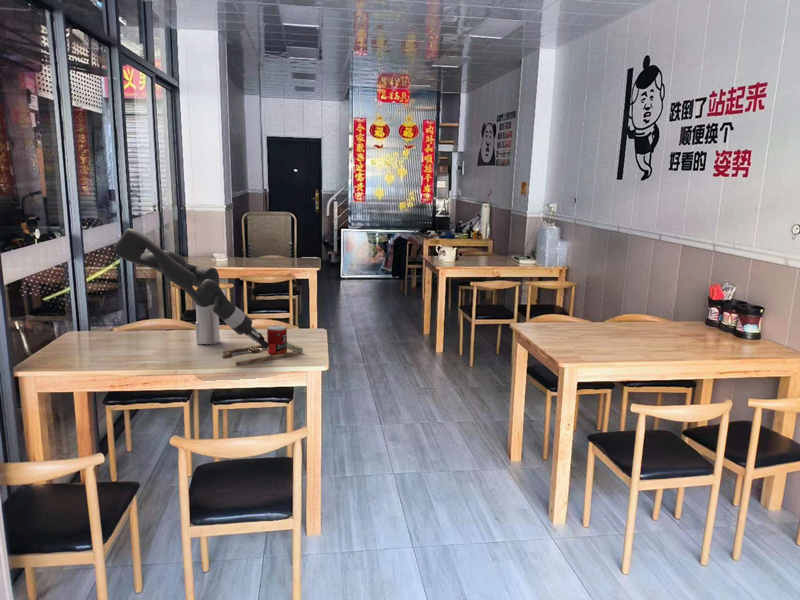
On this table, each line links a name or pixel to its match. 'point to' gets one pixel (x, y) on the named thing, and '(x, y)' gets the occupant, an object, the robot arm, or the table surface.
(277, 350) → the canned food
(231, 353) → the brown pliers
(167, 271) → the robot arm
